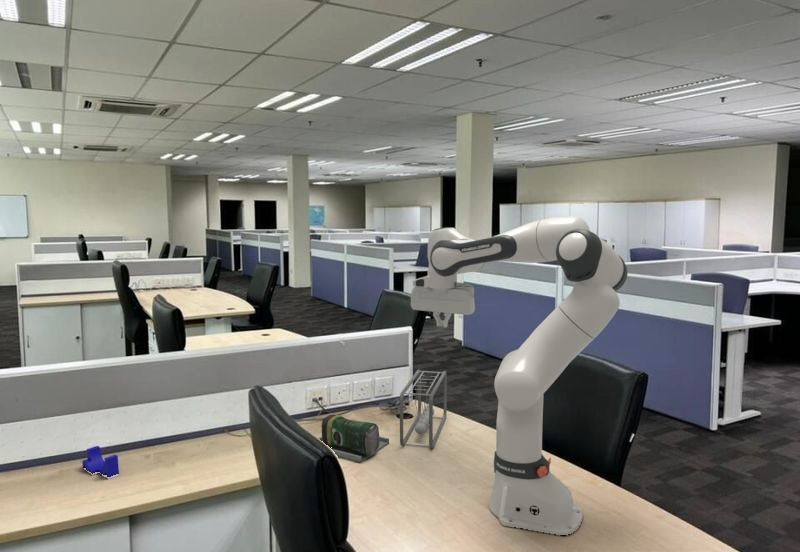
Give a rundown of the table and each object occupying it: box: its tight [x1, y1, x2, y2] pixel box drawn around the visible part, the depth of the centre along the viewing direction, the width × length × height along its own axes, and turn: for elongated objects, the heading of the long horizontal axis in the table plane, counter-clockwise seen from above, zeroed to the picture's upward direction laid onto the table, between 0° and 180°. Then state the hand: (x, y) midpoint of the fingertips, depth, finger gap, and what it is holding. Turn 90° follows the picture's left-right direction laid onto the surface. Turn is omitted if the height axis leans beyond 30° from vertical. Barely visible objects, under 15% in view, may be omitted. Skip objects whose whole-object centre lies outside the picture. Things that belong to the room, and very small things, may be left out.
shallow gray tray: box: [318, 435, 390, 464], centre depth 181 cm, size 20×16×2 cm
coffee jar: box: [321, 414, 380, 458], centre depth 177 cm, size 10×8×19 cm
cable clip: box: [81, 445, 120, 477], centre depth 164 cm, size 12×4×6 cm, turn 53°
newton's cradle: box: [399, 369, 448, 450], centre depth 192 cm, size 30×10×18 cm, turn 167°
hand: (442, 326), depth 174 cm, fingers closed
